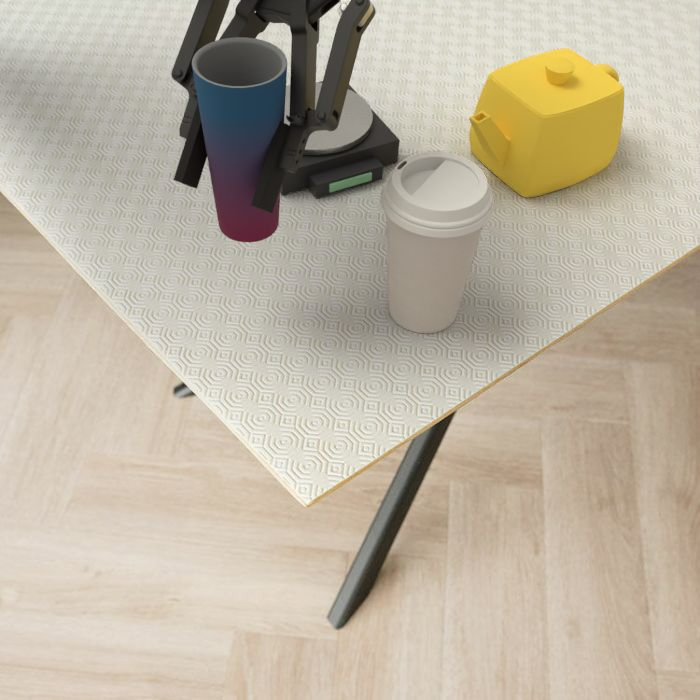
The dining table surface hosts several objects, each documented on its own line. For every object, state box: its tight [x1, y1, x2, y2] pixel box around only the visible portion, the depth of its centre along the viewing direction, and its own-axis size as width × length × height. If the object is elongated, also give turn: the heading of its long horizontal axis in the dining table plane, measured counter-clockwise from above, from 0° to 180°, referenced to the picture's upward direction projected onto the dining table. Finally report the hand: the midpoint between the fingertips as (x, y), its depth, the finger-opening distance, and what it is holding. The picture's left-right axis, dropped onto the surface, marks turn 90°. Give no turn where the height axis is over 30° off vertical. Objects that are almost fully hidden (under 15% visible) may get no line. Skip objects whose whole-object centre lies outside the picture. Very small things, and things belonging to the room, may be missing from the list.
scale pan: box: [284, 81, 373, 155], centre depth 100 cm, size 13×13×1 cm
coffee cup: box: [379, 151, 495, 334], centre depth 80 cm, size 10×10×15 cm
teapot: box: [468, 47, 625, 199], centre depth 98 cm, size 20×12×12 cm, turn 122°
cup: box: [192, 37, 288, 243], centre depth 71 cm, size 7×7×15 cm
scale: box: [280, 80, 400, 199], centre depth 101 cm, size 16×14×3 cm
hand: (223, 196), depth 70 cm, fingers closed on cup, 6 cm apart
